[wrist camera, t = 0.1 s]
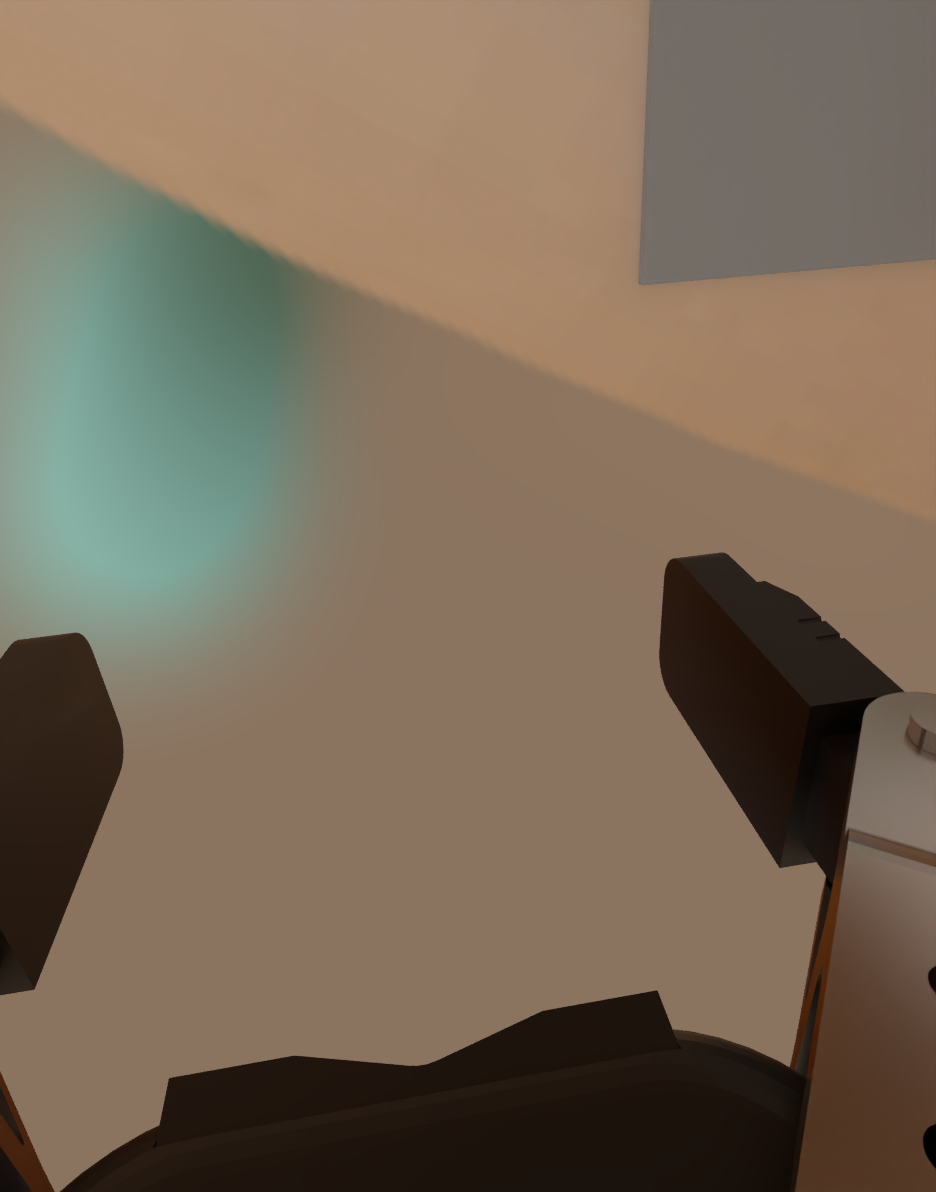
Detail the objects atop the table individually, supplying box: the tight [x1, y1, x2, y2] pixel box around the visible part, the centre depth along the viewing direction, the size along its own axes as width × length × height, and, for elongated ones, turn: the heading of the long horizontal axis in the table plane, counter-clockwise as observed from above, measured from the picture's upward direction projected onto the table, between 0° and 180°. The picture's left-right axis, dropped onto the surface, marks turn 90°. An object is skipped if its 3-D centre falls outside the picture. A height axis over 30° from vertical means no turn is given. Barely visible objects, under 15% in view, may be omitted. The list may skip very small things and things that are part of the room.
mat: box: [639, 0, 936, 285], centre depth 33 cm, size 18×20×1 cm
